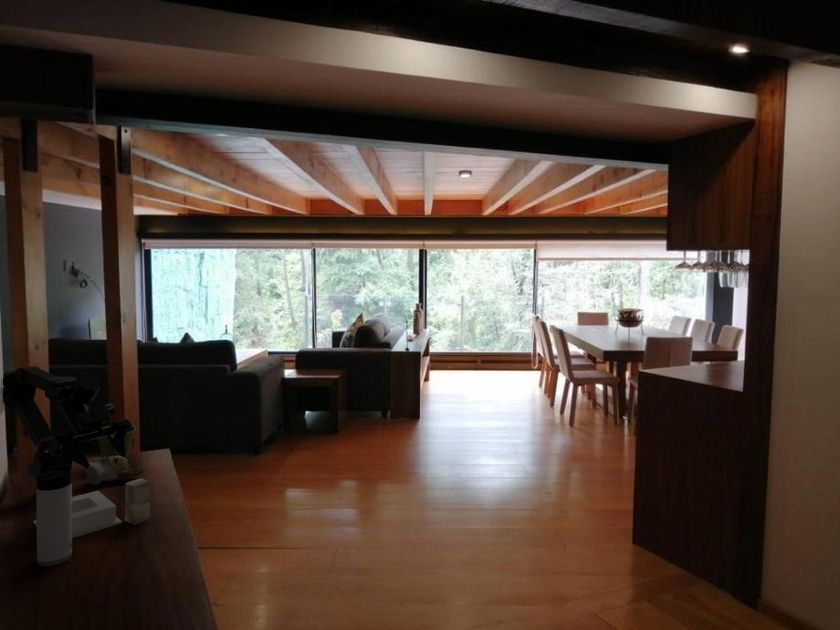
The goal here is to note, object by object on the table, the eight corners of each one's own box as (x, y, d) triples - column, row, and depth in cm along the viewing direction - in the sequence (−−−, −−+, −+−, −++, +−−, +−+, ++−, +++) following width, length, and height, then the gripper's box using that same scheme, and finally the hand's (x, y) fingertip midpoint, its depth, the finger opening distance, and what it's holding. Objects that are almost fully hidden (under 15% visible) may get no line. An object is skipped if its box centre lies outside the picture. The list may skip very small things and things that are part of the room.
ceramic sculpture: (78, 453, 152) (131, 444, 164) (76, 481, 152) (129, 471, 164) (91, 462, 145) (146, 453, 157) (89, 492, 146) (144, 481, 157)
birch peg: (125, 521, 130) (125, 483, 129) (140, 515, 133) (140, 478, 132) (134, 525, 128) (134, 486, 127) (149, 519, 131) (150, 481, 130)
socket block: (33, 523, 127) (33, 505, 126) (101, 504, 138) (101, 488, 138) (50, 545, 117) (50, 526, 117) (121, 523, 128) (121, 505, 128)
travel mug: (80, 554, 114) (80, 467, 113) (50, 569, 108) (49, 477, 106) (60, 548, 116) (59, 462, 115) (30, 563, 110) (29, 472, 108)
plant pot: (98, 472, 160) (98, 437, 160) (91, 461, 169) (91, 428, 168) (140, 464, 168) (140, 431, 167) (131, 454, 177) (131, 422, 176)
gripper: (51, 402, 124) (80, 451, 119) (126, 389, 141) (153, 432, 136) (36, 431, 128) (63, 480, 123) (110, 415, 145) (136, 458, 140)
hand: (106, 461), depth 130 cm, fingers open, 9 cm apart
